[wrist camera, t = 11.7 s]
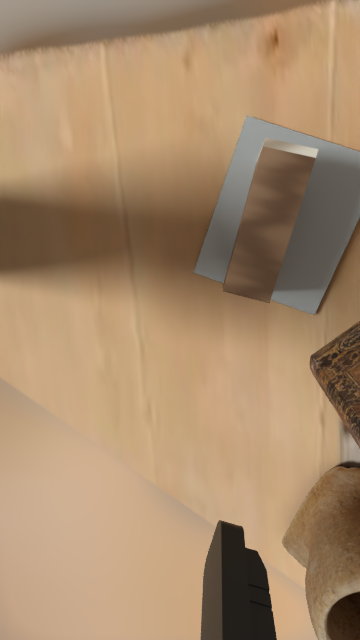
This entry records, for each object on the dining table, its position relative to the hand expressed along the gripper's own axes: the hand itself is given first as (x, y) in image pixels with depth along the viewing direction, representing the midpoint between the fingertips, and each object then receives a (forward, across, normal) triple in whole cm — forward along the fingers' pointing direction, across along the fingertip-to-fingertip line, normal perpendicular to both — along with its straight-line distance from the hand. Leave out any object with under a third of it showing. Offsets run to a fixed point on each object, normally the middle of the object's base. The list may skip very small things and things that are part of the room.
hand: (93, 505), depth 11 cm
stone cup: (+26, -22, +18) cm, 39 cm away
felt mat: (+26, -7, -12) cm, 29 cm away
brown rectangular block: (+22, -5, -5) cm, 23 cm away
